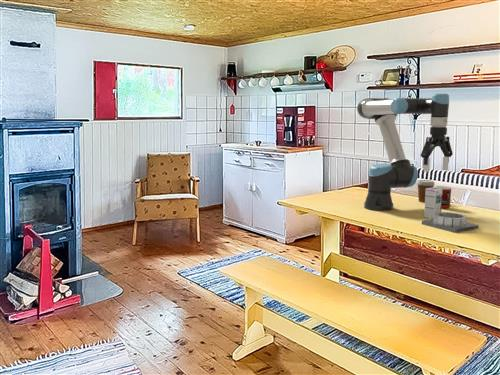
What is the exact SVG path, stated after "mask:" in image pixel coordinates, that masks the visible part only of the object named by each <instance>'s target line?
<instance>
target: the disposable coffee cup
mask: <svg viewBox="0 0 500 375" xmlns="http://www.w3.org/2000/svg"><path fill="white" fill-rule="evenodd" d="M416 183H417V192H418V194H417V195H418V202H420V203H424V204H425V192H426V188H432V187H435V181H434V180H432V179H431V180H430V179H417V181H416Z"/></svg>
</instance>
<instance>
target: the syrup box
mask: <svg viewBox="0 0 500 375" xmlns="http://www.w3.org/2000/svg"><path fill="white" fill-rule="evenodd" d="M441 206H442V189H441V188H436V186H433V187H432V188H426V192H425V203H424V213H423V216H424V218H426V219H428V218H429V219H434V214H435V213H438V212H442V209H441Z"/></svg>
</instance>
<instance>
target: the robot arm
mask: <svg viewBox="0 0 500 375" xmlns="http://www.w3.org/2000/svg"><path fill="white" fill-rule="evenodd" d="M449 107H450V95H449V94H448V93H433V94H432V97H431V98H426V97H425V98H423V97H421V98H419V97H418V98H415V97H413V98H411V97H410V98H408V97H396V98H388V97H383V98H378V97H375V98H372V97H370V98H364V99H362V100H360V101H359V103H358V104H357V108H356V111H357V113H358V115H359V116H360V117H361V118H363V119H365V120H369V119H370V120H374V123H375V125H377V126H379V130H380V134H381V137H382V139H383V143H384V147H385V151H386V154H387V157H388V161H389V163H376V164H372V165H371V166H370V167H369V171H368V183H367V184H368V187H367V195H366V198H365V200H364V204H363V207H364V209H368V210H372V211H392V210H393V209H394V203H393V200H392V196H391V195H392V194H391V192H392V189H398V188H403V189H404V188H411V187H414V185H415V184H416V183H417V182H418V177H419V173H418V172H419V170H418V168H417V167H416V166H415V165H413V164H412V165H411V162H410V161H411V160H410V159H407V158H406V156H405V152H404V149H403V145H402V142H401V138H400V135H399V132H398V128H397V125H396V122H395V121H396V119H397V117H398V115H407V114H408V115H413V114H414V115H431V116H430V123H429V124H430V126H431V127H430V128H429V129H430V130H429V134H430V136H427V137H426V139H425V143H424V145H423V147H422V151H421V153H420V157H421V158H423V172H424V173H426V172H427V173H429V172H430V166H431V164H430V162H431V158H430V156H431V154H433V151H434V149H436V148H437V147H439V148H440V150H441V152H442V155H443V156H442V167H441V170H442V171H448V170H449V163H450V158H452V156H453V149H452V145H451V143H450V142H451V141H450V136H447V134H448V128H447V126H448V120H449V119H448V118H449Z"/></svg>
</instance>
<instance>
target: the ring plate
mask: <svg viewBox="0 0 500 375" xmlns="http://www.w3.org/2000/svg"><path fill="white" fill-rule="evenodd" d="M421 225H424V226H429V227H433V228H436V229H440V230H443V231H447V232H452V233H461V232H466V231H471V230H478V229H479V228H480V225H479V224H475V223H471V222H468V216H467V215H465V214H463V213H458V212H451V211H449V212H448V211H441V212H438V213H435V214H434V219H432V218H429V219H425V220H421Z"/></svg>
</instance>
